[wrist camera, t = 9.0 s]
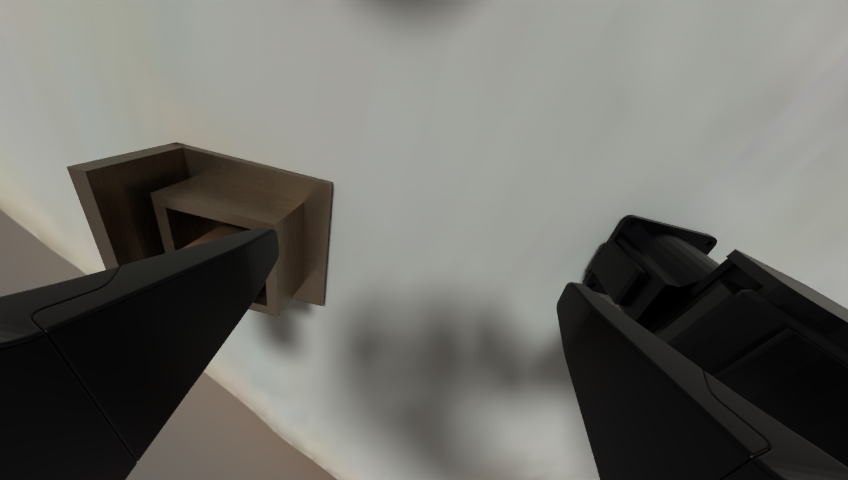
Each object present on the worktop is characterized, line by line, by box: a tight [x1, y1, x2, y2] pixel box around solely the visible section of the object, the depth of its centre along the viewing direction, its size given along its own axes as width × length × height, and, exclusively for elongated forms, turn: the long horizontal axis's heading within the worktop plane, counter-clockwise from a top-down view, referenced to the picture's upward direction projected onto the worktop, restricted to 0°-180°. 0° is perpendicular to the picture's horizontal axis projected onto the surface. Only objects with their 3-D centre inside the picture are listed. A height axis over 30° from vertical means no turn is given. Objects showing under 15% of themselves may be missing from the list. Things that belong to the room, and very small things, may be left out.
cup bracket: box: [67, 142, 333, 316], centre depth 22 cm, size 12×12×7 cm
